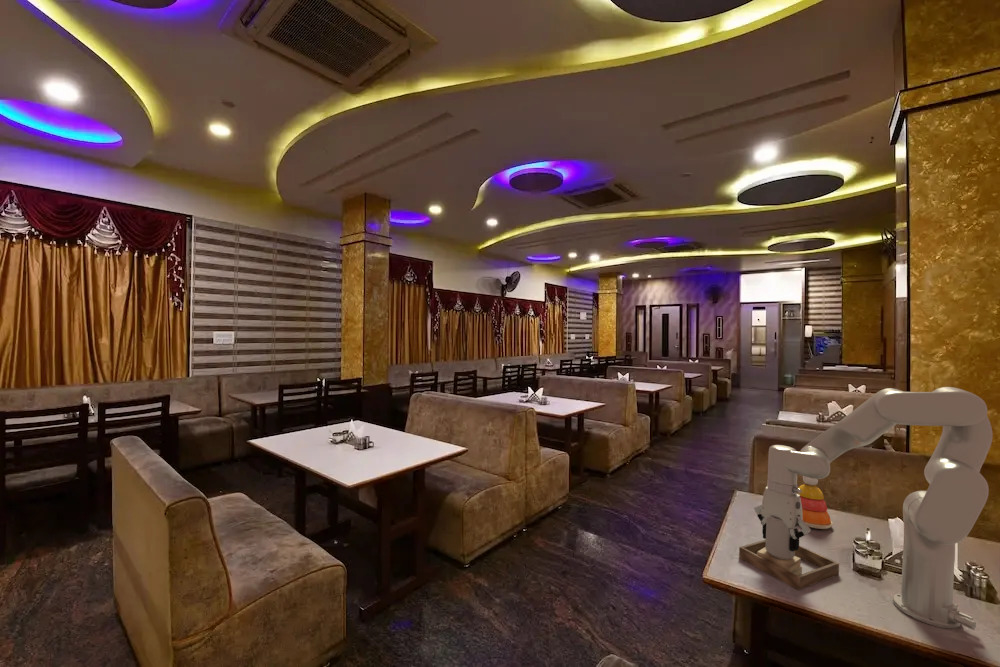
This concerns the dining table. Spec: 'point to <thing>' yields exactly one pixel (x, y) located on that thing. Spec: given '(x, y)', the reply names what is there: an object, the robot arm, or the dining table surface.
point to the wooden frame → (798, 582)
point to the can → (778, 539)
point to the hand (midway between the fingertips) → (779, 543)
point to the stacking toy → (814, 505)
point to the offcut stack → (783, 562)
